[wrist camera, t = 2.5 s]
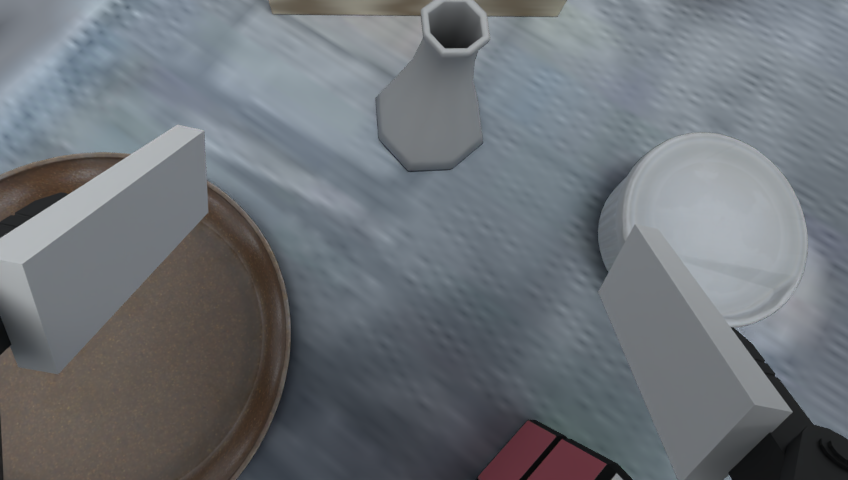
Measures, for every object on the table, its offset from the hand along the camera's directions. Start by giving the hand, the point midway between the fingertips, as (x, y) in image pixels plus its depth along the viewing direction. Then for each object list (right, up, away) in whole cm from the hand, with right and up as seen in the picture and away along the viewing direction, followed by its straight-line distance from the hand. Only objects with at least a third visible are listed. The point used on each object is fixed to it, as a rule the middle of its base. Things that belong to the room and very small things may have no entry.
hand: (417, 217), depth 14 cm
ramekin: (+16, -1, +17) cm, 23 cm away
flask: (+1, +7, +17) cm, 18 cm away
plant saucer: (-17, -7, +12) cm, 22 cm away
